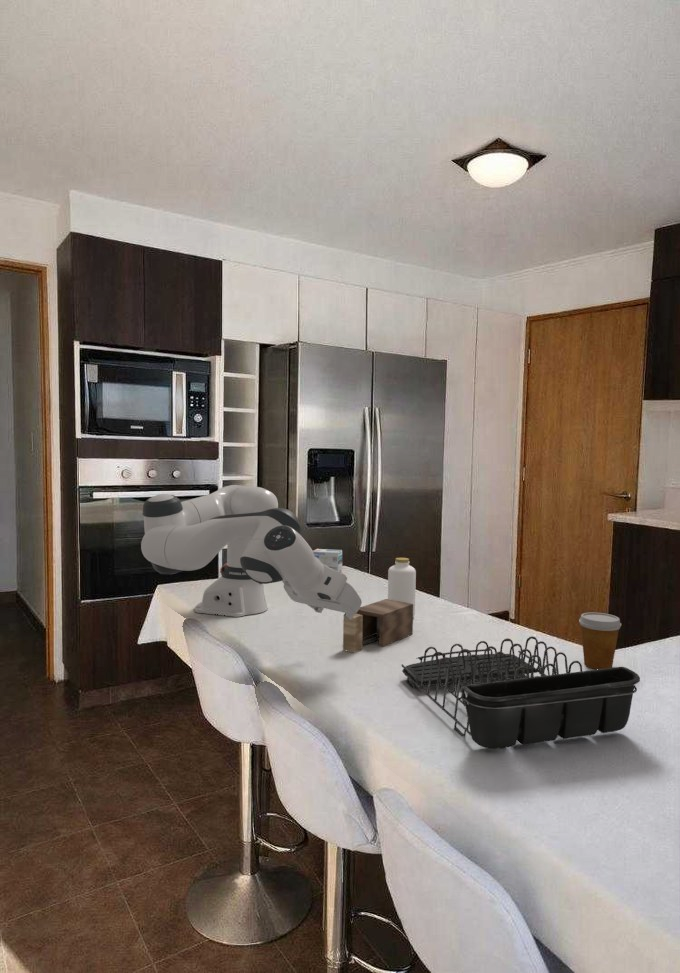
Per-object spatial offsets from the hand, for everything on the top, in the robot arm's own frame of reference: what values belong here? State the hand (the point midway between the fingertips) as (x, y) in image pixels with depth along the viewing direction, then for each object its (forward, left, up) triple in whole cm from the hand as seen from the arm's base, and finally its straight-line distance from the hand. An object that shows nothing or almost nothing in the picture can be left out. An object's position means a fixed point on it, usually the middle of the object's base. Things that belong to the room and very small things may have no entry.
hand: (335, 613), depth 164 cm
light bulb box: (-16, +96, -11) cm, 98 cm away
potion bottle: (+15, +42, -11) cm, 46 cm away
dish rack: (+38, -23, -12) cm, 46 cm away
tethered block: (+8, +15, -11) cm, 20 cm away
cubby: (+11, +20, -11) cm, 25 cm away
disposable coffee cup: (+64, +6, -11) cm, 65 cm away
